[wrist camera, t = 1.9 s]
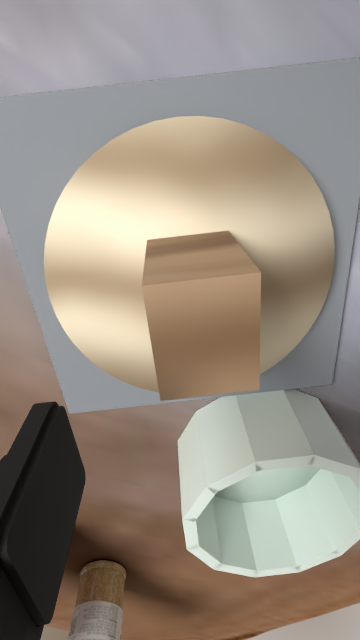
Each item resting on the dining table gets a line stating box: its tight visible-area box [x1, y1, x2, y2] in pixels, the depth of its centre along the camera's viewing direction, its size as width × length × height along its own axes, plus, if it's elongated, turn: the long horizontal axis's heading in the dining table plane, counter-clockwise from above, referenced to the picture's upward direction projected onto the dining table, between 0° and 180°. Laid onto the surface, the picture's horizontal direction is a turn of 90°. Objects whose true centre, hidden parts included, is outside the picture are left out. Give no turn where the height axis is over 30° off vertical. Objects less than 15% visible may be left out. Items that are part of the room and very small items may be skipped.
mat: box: [0, 58, 360, 414], centre depth 19 cm, size 18×18×1 cm
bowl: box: [178, 389, 360, 577], centre depth 24 cm, size 12×12×6 cm
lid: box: [44, 116, 335, 401], centre depth 16 cm, size 15×15×7 cm
